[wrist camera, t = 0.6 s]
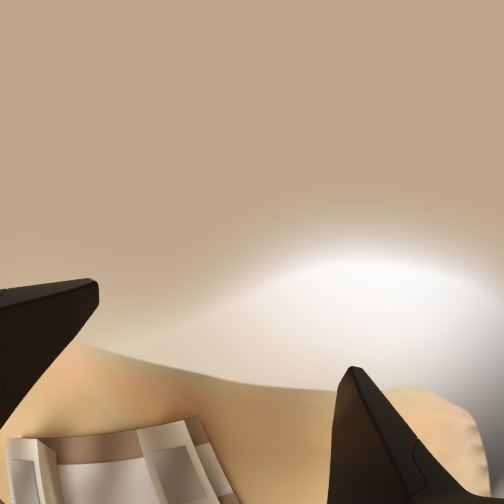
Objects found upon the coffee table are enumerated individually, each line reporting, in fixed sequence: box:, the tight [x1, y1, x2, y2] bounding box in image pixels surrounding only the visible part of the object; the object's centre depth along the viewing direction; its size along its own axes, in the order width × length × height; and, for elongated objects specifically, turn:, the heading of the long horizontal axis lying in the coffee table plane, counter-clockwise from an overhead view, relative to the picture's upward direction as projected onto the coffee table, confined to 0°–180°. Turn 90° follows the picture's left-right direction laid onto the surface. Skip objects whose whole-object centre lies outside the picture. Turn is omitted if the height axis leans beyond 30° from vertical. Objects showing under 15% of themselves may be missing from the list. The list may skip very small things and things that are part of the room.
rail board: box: [6, 416, 239, 504], centre depth 11 cm, size 18×10×4 cm, turn 114°
